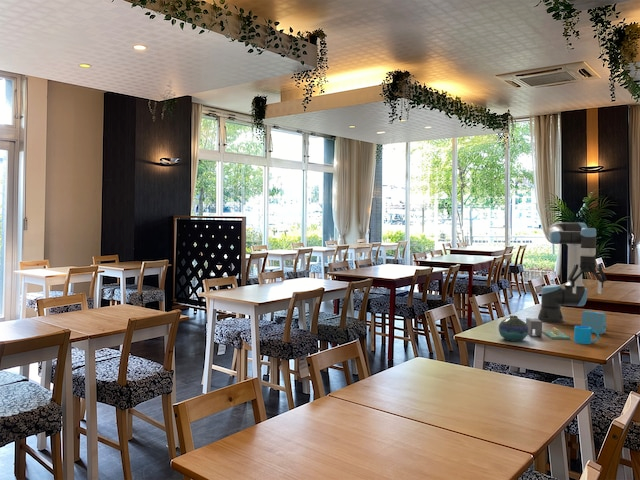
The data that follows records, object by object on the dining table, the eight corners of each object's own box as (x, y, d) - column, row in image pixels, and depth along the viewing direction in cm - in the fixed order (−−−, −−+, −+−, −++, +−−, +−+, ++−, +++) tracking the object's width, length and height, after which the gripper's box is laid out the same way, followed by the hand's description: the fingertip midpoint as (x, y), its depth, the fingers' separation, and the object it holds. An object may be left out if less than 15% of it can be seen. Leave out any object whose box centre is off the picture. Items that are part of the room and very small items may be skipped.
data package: (605, 333, 290) (606, 313, 290) (603, 334, 287) (603, 314, 287) (584, 330, 299) (584, 310, 299) (581, 331, 296) (581, 311, 296)
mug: (572, 342, 269) (573, 327, 268) (575, 339, 275) (576, 324, 275) (597, 345, 261) (598, 330, 261) (600, 343, 268) (600, 327, 267)
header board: (541, 332, 291) (541, 325, 291) (559, 333, 290) (559, 325, 290) (551, 339, 276) (551, 331, 275) (570, 339, 274) (570, 332, 274)
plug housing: (525, 333, 289) (526, 317, 289) (536, 333, 288) (536, 318, 288) (530, 337, 280) (531, 321, 280) (541, 337, 279) (542, 321, 279)
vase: (525, 344, 262) (526, 319, 262) (495, 340, 270) (495, 316, 270) (530, 339, 275) (531, 315, 275) (501, 335, 283) (502, 312, 283)
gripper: (567, 255, 274) (566, 294, 275) (614, 256, 273) (613, 294, 273) (562, 254, 282) (561, 292, 283) (607, 255, 280) (606, 292, 281)
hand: (586, 293), depth 278 cm, fingers open, 13 cm apart
